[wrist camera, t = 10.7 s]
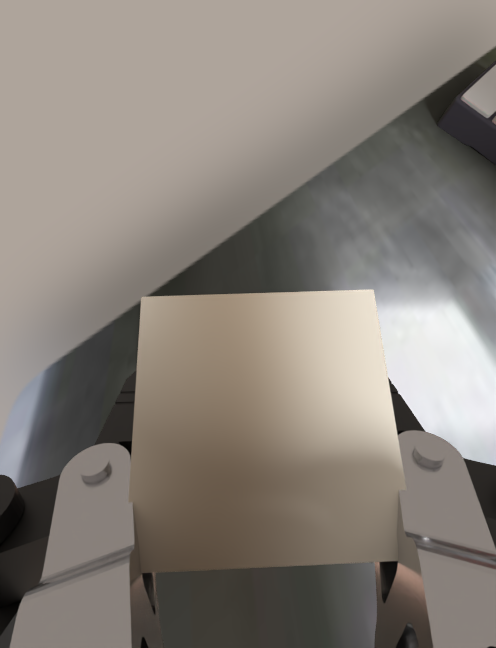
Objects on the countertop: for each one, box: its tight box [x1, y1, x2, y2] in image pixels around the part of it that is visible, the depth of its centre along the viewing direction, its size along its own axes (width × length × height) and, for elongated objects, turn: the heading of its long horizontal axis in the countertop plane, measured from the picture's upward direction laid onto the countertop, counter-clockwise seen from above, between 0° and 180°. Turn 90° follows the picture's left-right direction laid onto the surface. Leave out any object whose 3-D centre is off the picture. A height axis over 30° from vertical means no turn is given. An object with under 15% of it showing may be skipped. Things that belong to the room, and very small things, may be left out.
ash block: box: [128, 290, 406, 573], centre depth 10 cm, size 5×5×9 cm
